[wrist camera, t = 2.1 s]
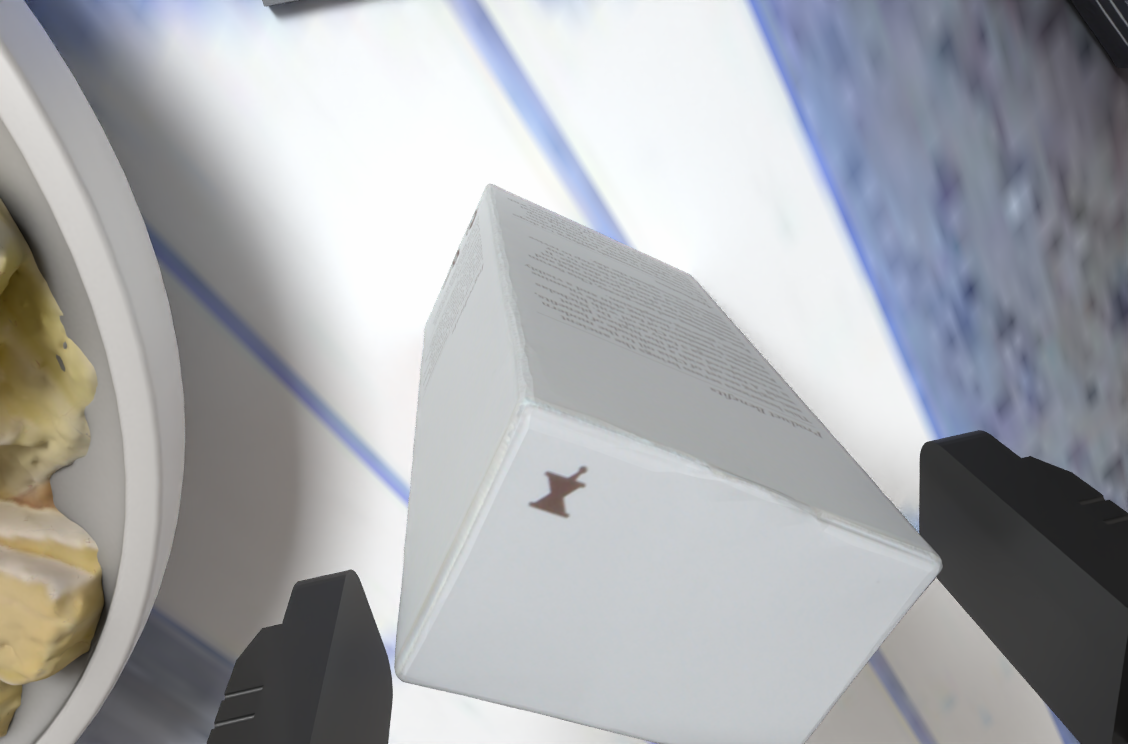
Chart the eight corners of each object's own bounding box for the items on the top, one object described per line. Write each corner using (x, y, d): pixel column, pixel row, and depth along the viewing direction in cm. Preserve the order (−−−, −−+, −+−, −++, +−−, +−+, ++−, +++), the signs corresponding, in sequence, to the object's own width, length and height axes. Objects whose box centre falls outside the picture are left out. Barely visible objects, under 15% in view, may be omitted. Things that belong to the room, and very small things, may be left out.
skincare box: (420, 329, 20) (372, 685, 9) (486, 177, 19) (520, 387, 8) (625, 409, 22) (785, 789, 11) (700, 275, 21) (965, 558, 10)
